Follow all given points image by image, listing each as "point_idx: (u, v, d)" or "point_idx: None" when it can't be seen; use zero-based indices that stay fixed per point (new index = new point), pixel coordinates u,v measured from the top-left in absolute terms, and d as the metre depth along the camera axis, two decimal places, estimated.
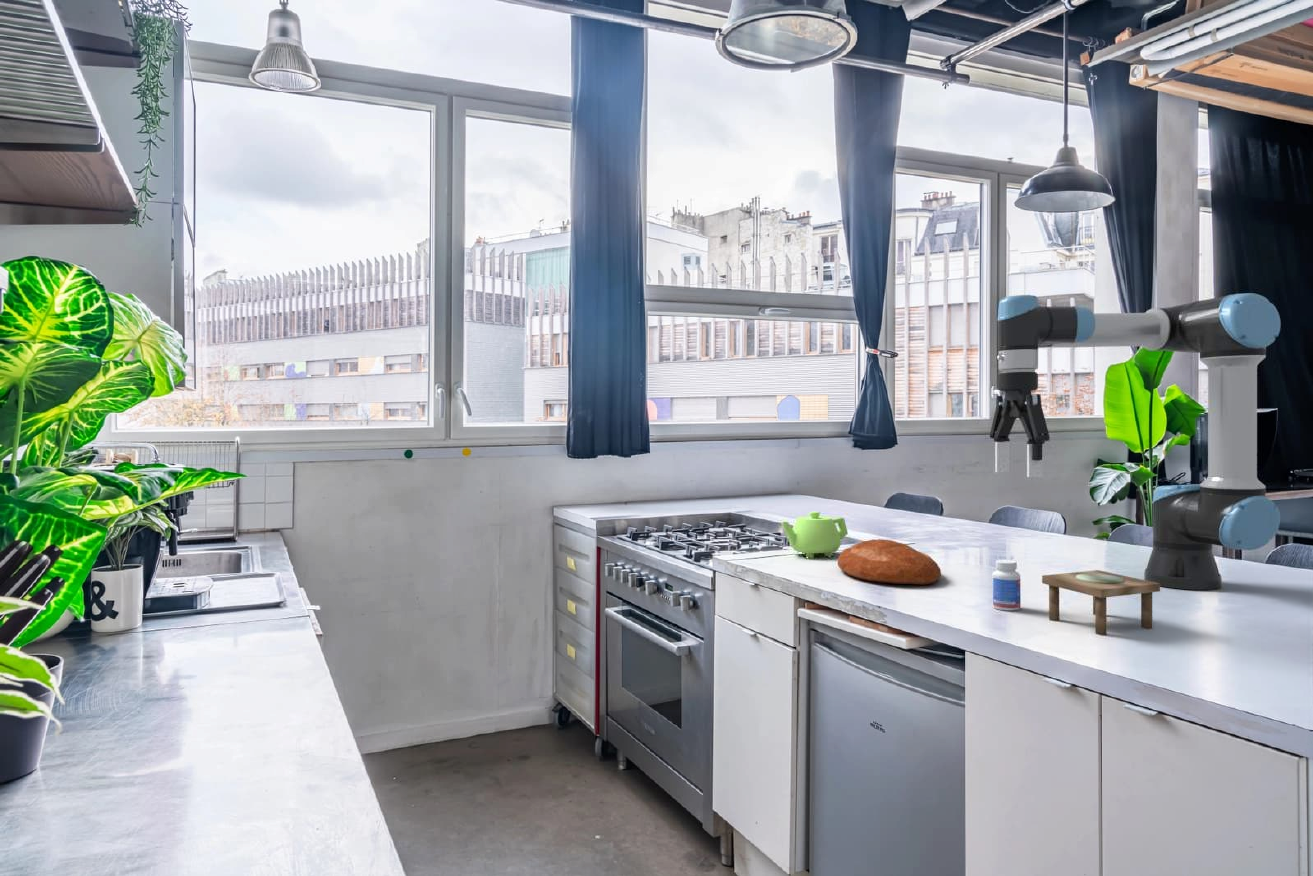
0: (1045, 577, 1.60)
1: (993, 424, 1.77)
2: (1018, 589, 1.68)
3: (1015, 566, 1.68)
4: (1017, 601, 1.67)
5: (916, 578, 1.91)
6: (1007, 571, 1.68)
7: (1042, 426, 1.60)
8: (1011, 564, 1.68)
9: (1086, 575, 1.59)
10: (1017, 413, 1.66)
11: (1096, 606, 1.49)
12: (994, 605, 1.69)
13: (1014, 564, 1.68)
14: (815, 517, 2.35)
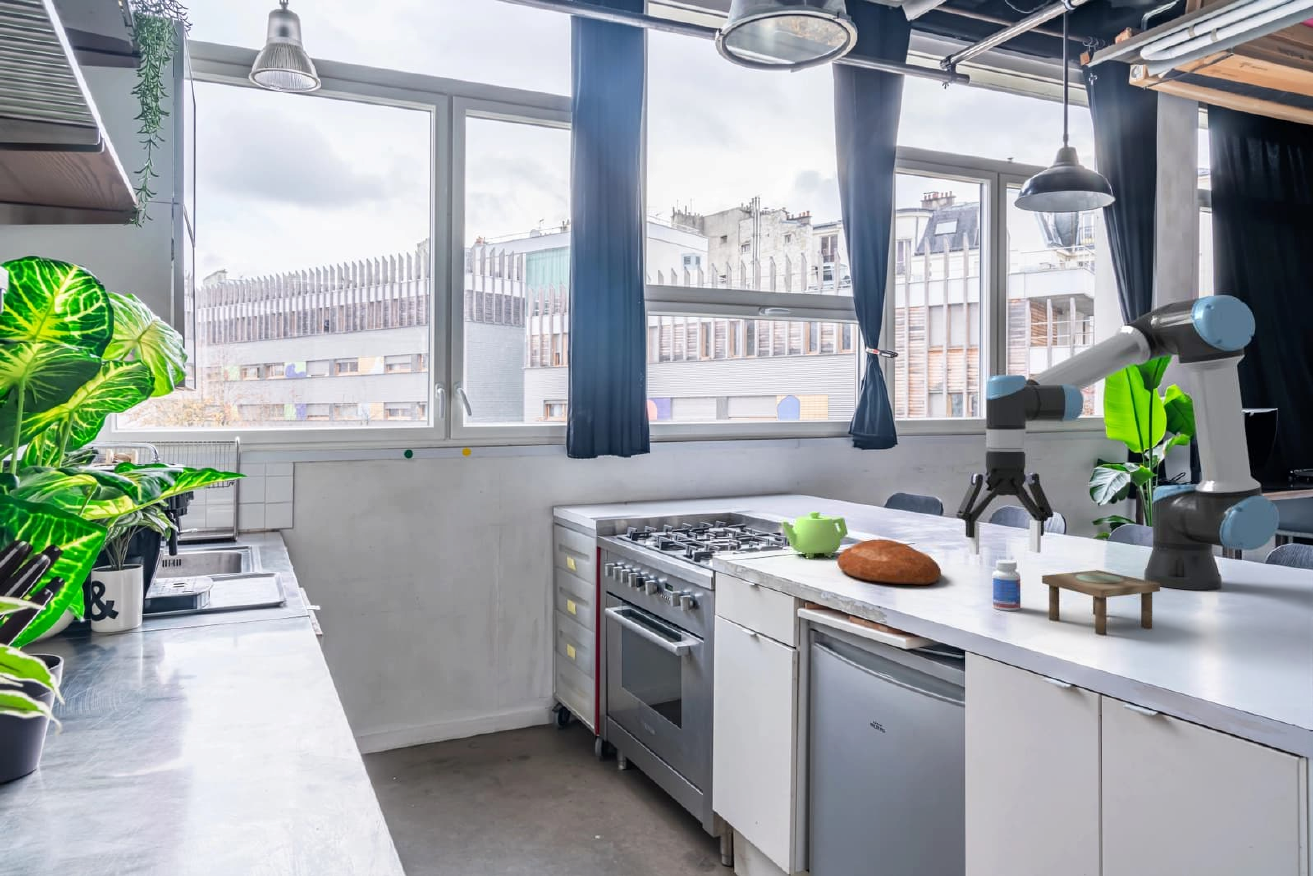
0: (1045, 577, 1.60)
1: None
2: (1018, 589, 1.68)
3: (1015, 566, 1.68)
4: (1017, 601, 1.67)
5: (916, 578, 1.91)
6: (1007, 571, 1.68)
7: (964, 505, 1.68)
8: (1011, 564, 1.68)
9: (1086, 575, 1.59)
10: None
11: (1096, 606, 1.49)
12: (994, 605, 1.69)
13: (1014, 564, 1.68)
14: (815, 517, 2.35)
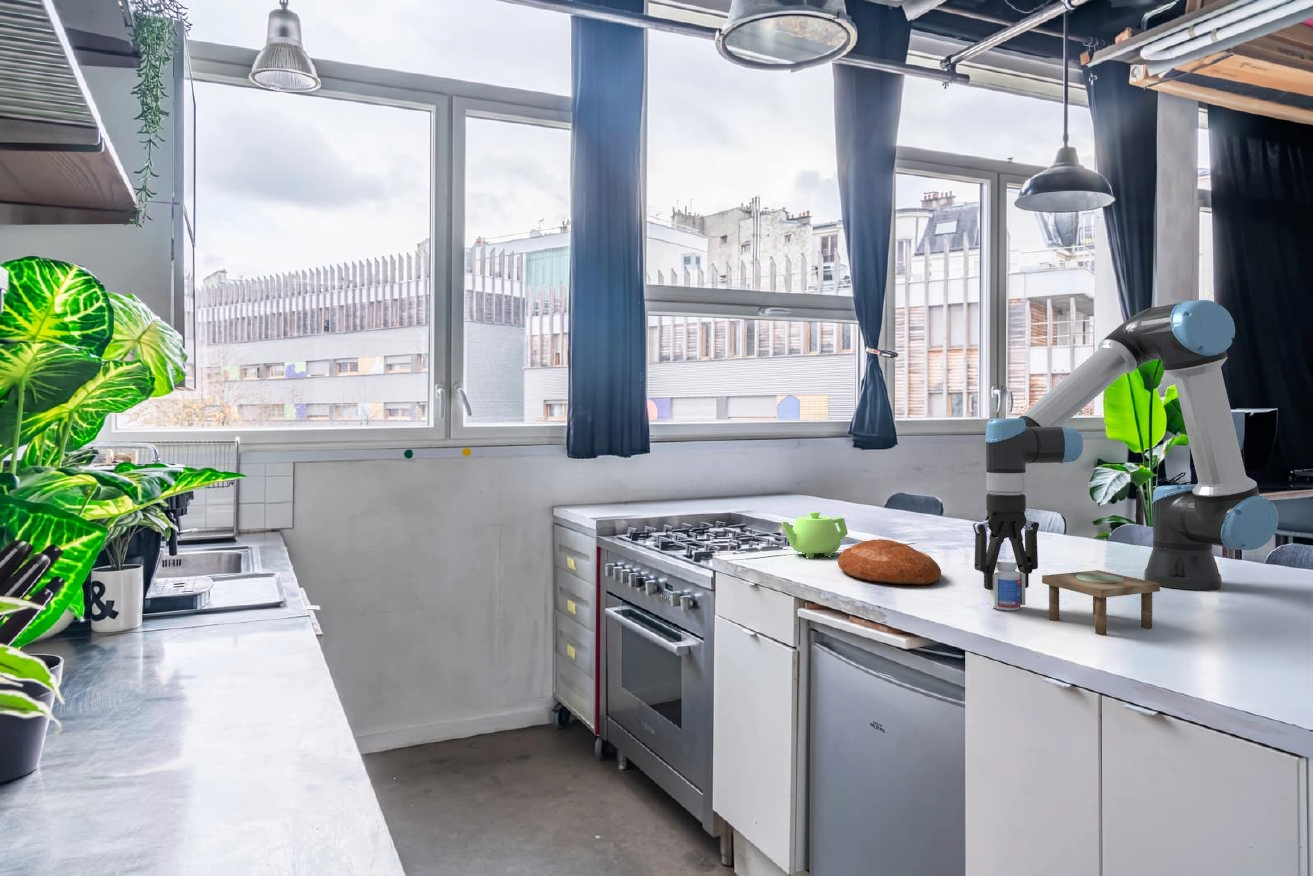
0: (1045, 577, 1.60)
1: None
2: (1018, 589, 1.68)
3: (1015, 566, 1.68)
4: (1017, 601, 1.67)
5: (916, 578, 1.91)
6: (1008, 571, 1.68)
7: (978, 558, 1.68)
8: (1011, 564, 1.68)
9: (1086, 575, 1.59)
10: None
11: (1096, 606, 1.49)
12: None
13: (1014, 564, 1.68)
14: (815, 517, 2.35)
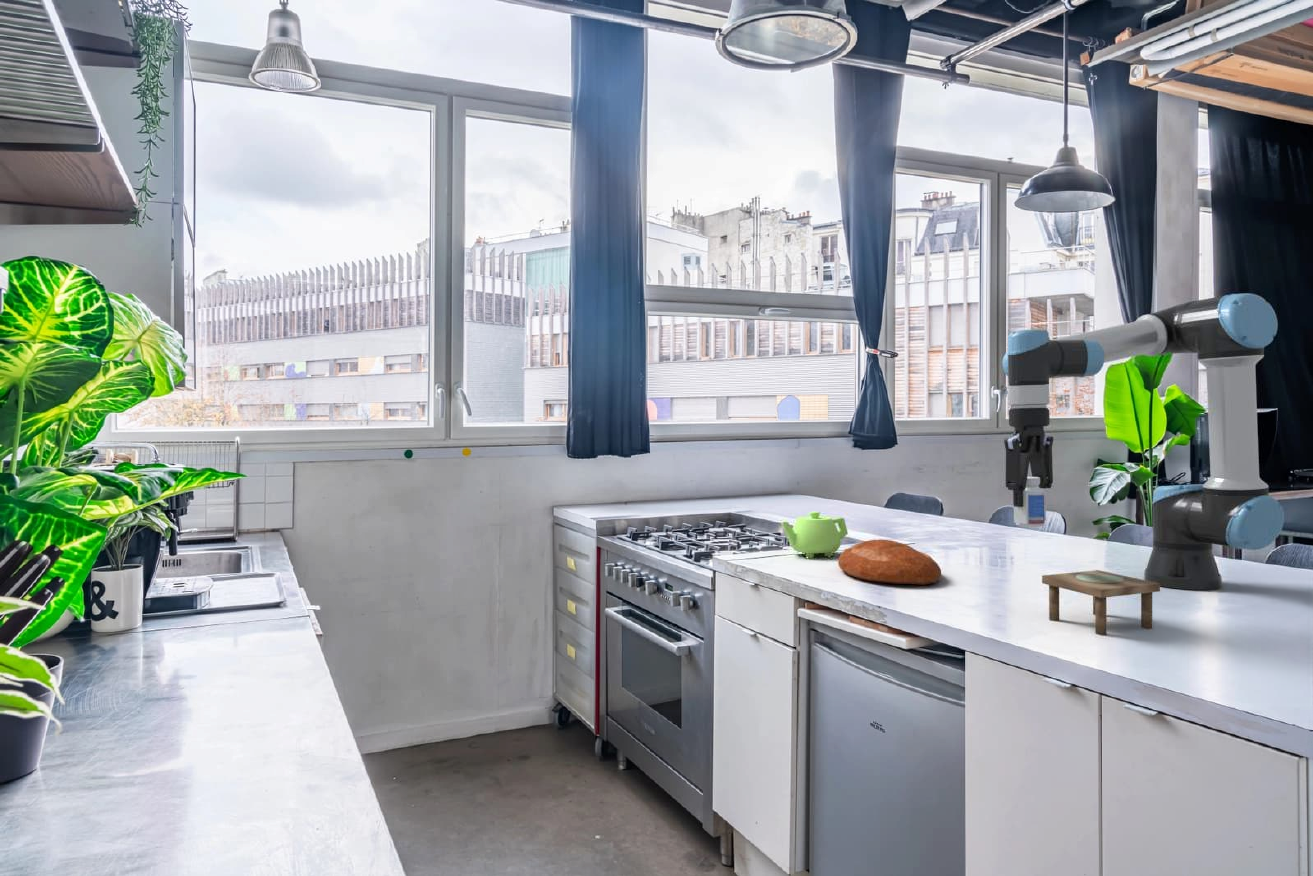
0: (1045, 577, 1.60)
1: None
2: None
3: (1039, 481, 1.65)
4: None
5: (916, 578, 1.91)
6: (1035, 486, 1.64)
7: (1012, 474, 1.62)
8: (1038, 479, 1.64)
9: (1086, 575, 1.59)
10: None
11: (1096, 606, 1.49)
12: (1022, 523, 1.64)
13: (1039, 479, 1.65)
14: (815, 517, 2.35)
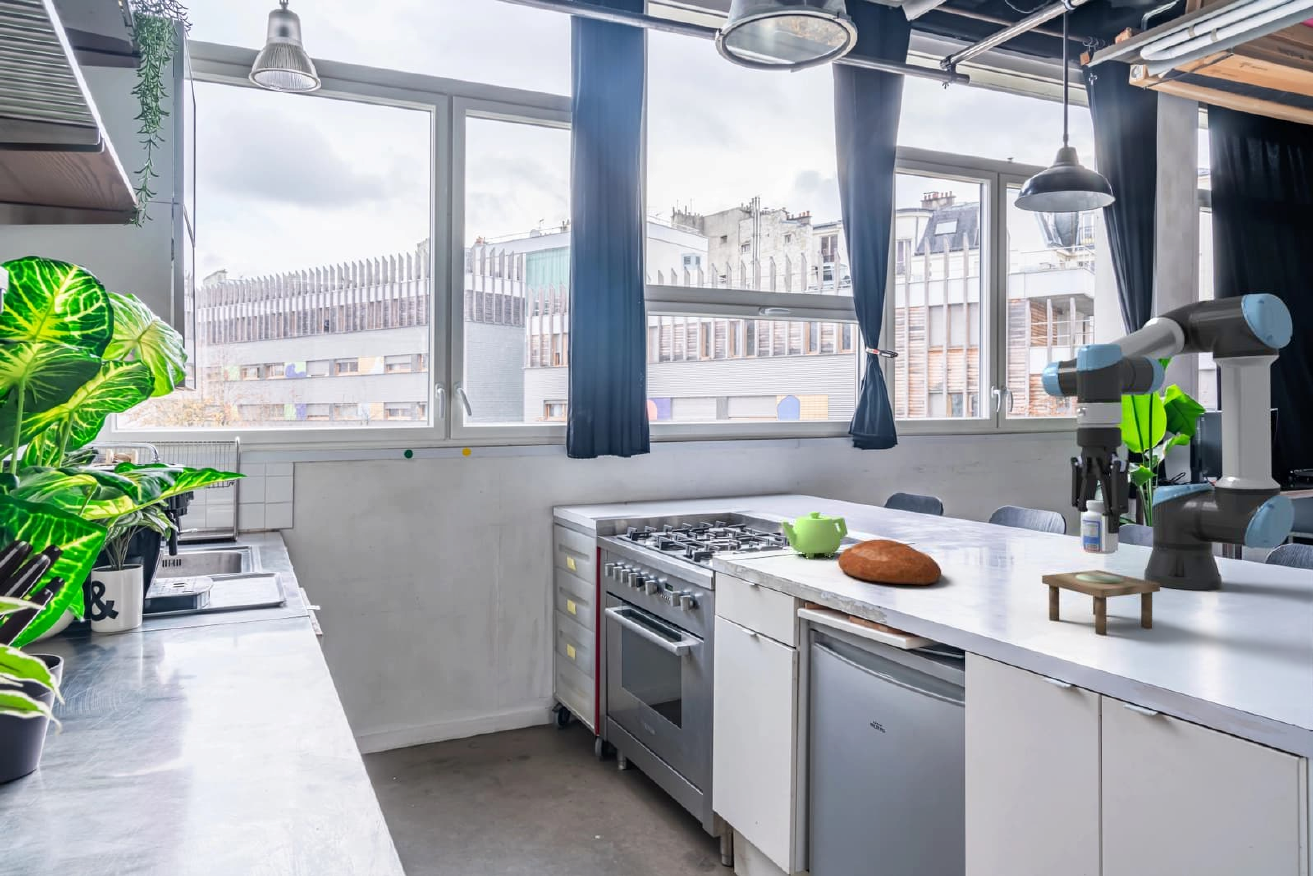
0: (1045, 577, 1.60)
1: (1073, 490, 1.61)
2: None
3: None
4: None
5: (916, 578, 1.90)
6: None
7: (1124, 498, 1.50)
8: None
9: (1086, 575, 1.59)
10: (1098, 475, 1.53)
11: (1096, 606, 1.49)
12: None
13: None
14: (815, 517, 2.35)
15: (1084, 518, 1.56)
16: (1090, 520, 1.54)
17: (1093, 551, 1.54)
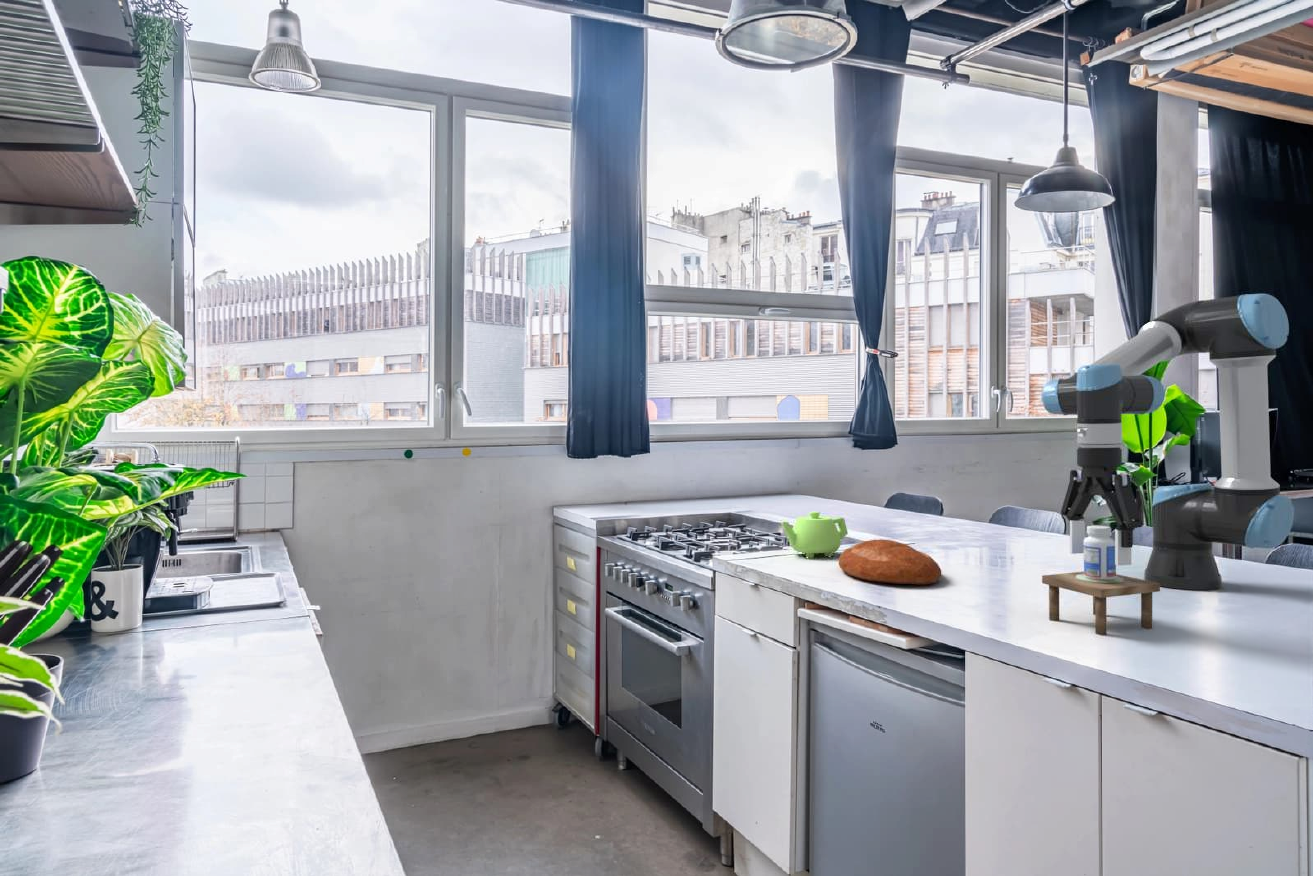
0: (1045, 577, 1.60)
1: (1066, 500, 1.64)
2: None
3: None
4: None
5: (916, 578, 1.90)
6: None
7: (1134, 511, 1.47)
8: None
9: None
10: (1102, 493, 1.52)
11: (1096, 606, 1.49)
12: (1109, 576, 1.54)
13: None
14: (815, 517, 2.35)
15: (1085, 544, 1.56)
16: (1091, 546, 1.55)
17: (1094, 577, 1.54)
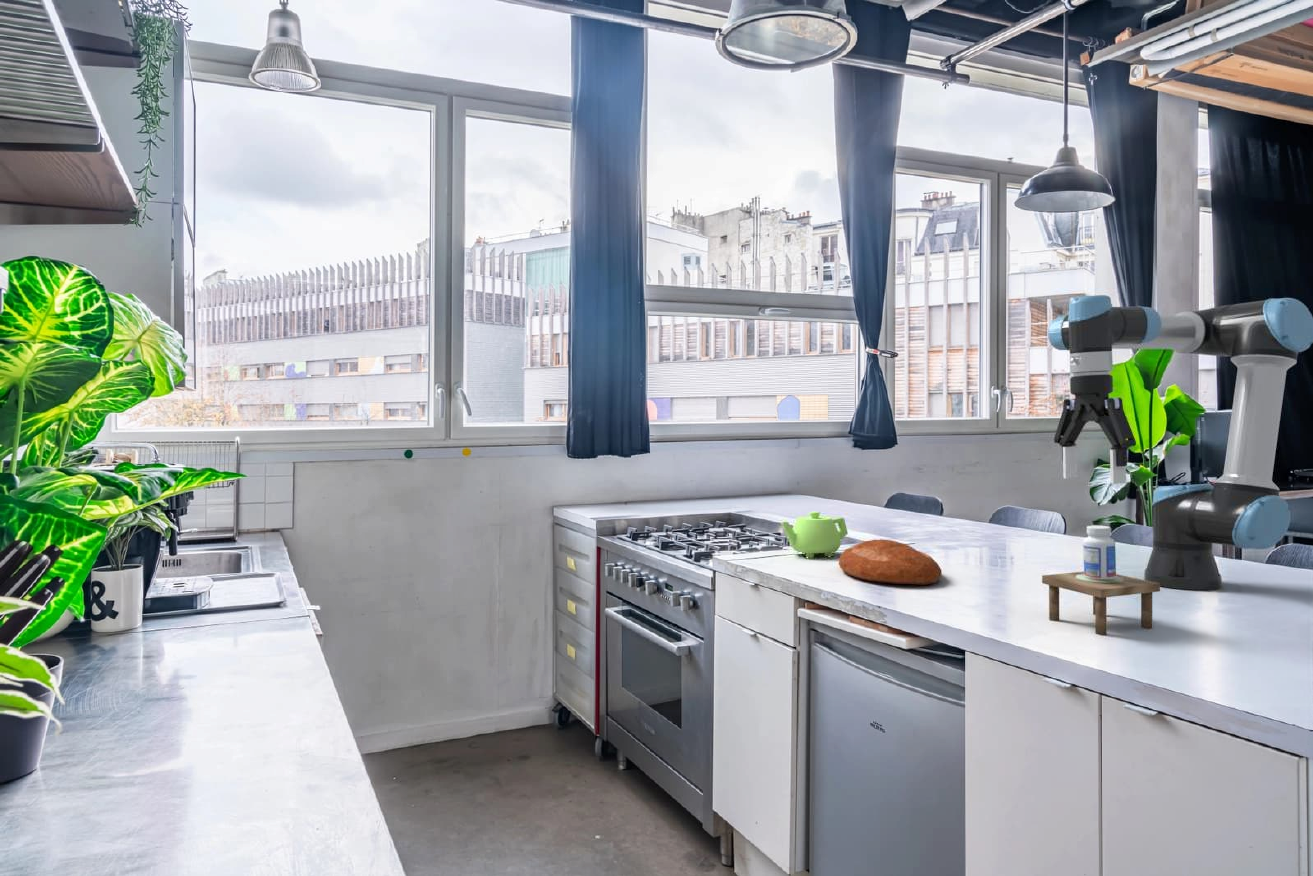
0: (1045, 577, 1.60)
1: (1059, 428, 1.71)
2: None
3: None
4: None
5: (916, 578, 1.90)
6: None
7: (1128, 431, 1.55)
8: None
9: None
10: (1095, 417, 1.60)
11: (1096, 606, 1.49)
12: (1109, 576, 1.54)
13: None
14: (815, 517, 2.35)
15: (1084, 544, 1.56)
16: (1091, 546, 1.55)
17: (1094, 577, 1.54)
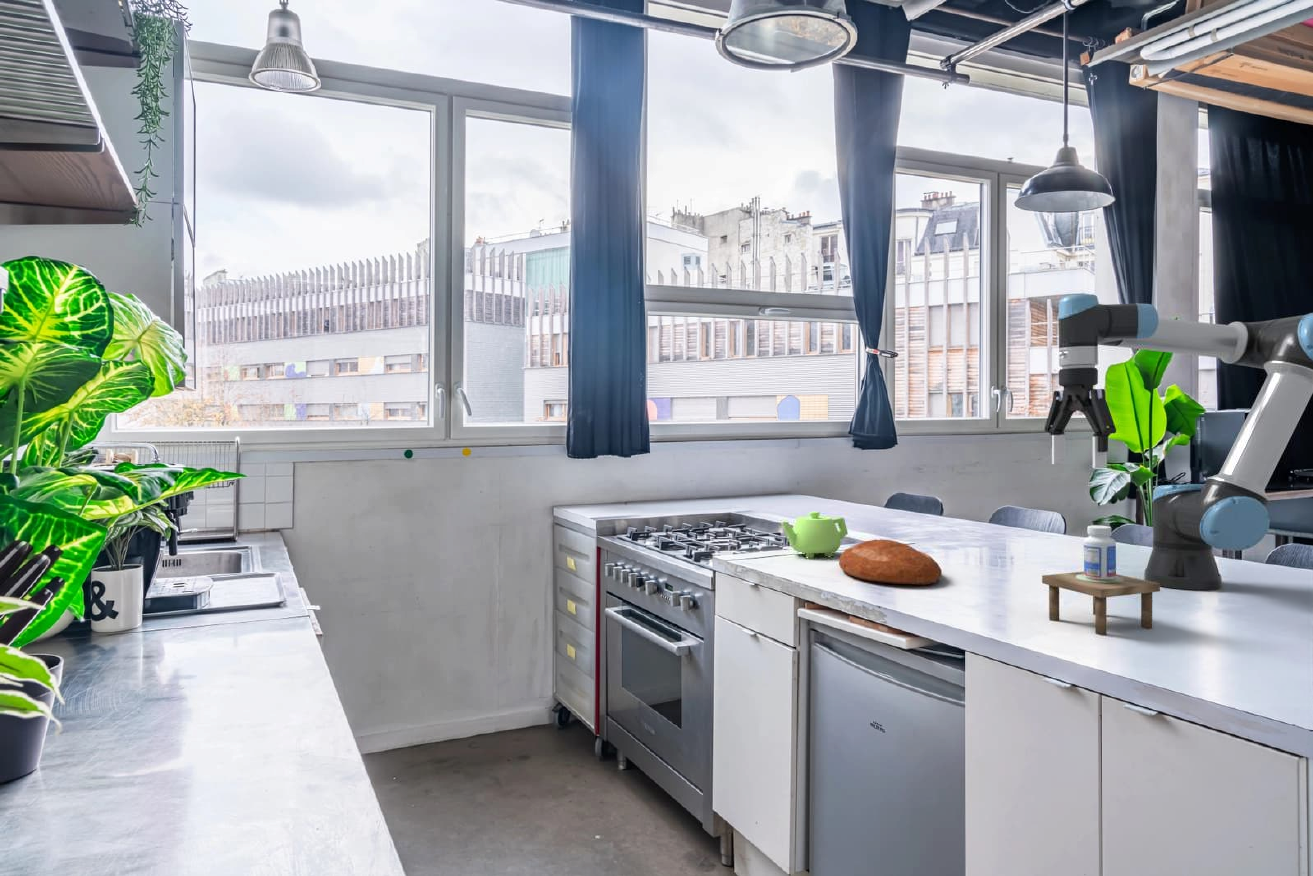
0: (1045, 577, 1.60)
1: (1049, 418, 1.85)
2: None
3: None
4: None
5: (916, 578, 1.90)
6: None
7: (1109, 419, 1.68)
8: None
9: None
10: (1080, 407, 1.73)
11: (1096, 606, 1.49)
12: (1109, 576, 1.54)
13: None
14: (815, 517, 2.35)
15: (1085, 544, 1.56)
16: (1091, 546, 1.55)
17: (1094, 577, 1.54)
